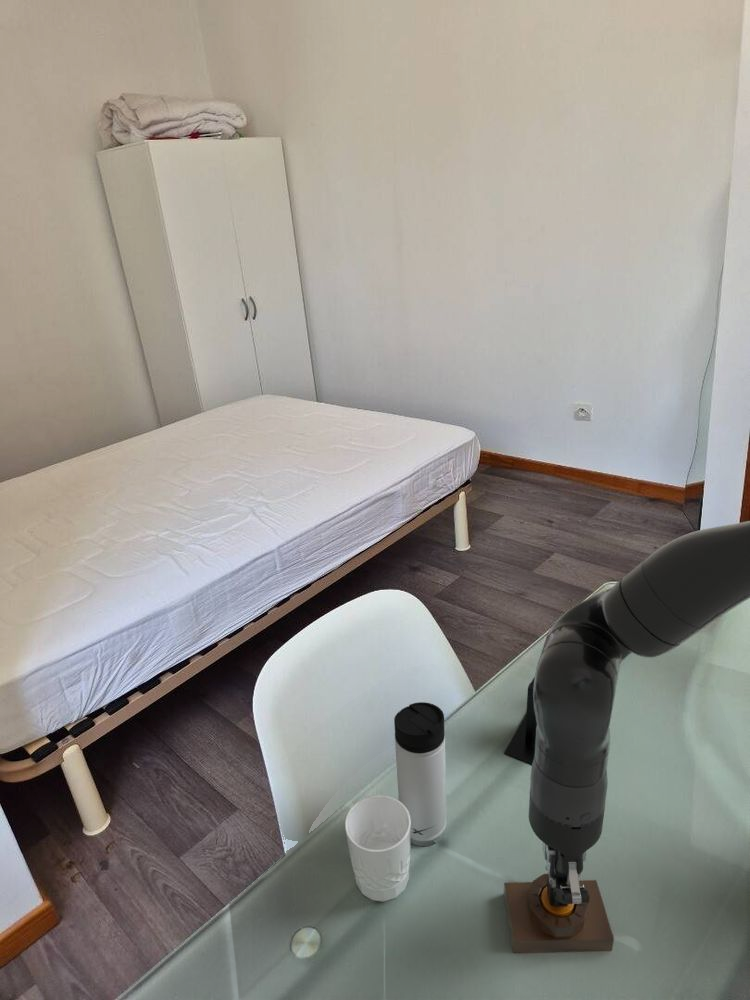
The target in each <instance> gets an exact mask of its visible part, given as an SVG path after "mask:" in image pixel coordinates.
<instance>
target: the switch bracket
mask: <svg viewBox="0 0 750 1000" xmlns="http://www.w3.org/2000/svg"><path fill="white" fill-rule="evenodd" d="M534 679H535V676H533V678H532V680H531V681H530V682H529V684H528V685H527V694H526V695H527V696H526V713H525V715H524V717H523V718H522V719H521V722H520V724H519V725H518V727H517V729H516V731H515V732H514V734H513V736H512V738H511V739H510V742H509V743H508V745H507V747H506V748H505V750H504V752H503V754H504V755H505V756H507V757H510V758H513V759H515V760H518V761H521V762H523V763H526V764H528V765H531V766H532V763H533V760H534V755H535V740H536V728H537V722H536V716H535V709H534V699H533V691H534Z"/></svg>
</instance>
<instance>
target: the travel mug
mask: <svg viewBox="0 0 750 1000" xmlns="http://www.w3.org/2000/svg"><path fill="white" fill-rule="evenodd" d="M393 721H394V722H393V723H394V746H395V747H394V748H395V762H396V764H395V765H396V778H397V780H396V781H397V794H398V796H397V797H398V801H400V802H401V803H402V804H403V805H404V806H405V807H406V809H407V810H408V812H409V815H410V819H411V838H410V844H412V845H415V846H419V847H430V846H433V845H436V842H435V841H437V840H438V839H440V838H441V837H442V836H443V835H444V833H445V831H446V829H447V824H448V818H447V817H448V816H447V815H448V813H447V769H446V768H447V767H446V766H447V765H446V764H447V763H446V762H447V761H446V732H445V714H444V712H443V710H442V709H441V708H440V707H439V706H438V705H436V704H434V703H431V702H425V701H424V702H422V701H421V702H413V703H410V704H409V705H408V706H405V707H404V708H401V709H400V710H399V711H398V712H397V713H396V714H395V715H394V719H393Z"/></svg>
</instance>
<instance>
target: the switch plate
mask: <svg viewBox="0 0 750 1000" xmlns="http://www.w3.org/2000/svg"><path fill="white" fill-rule="evenodd" d="M547 883H548V873H543V874H541V875H539V876H538V877H537V878H535V879H534V880H533V881H521V882H518V881H517V882H504V883H503V885H504V886H503V897H504V903H505V909H506V916H507V921H508V928H509V935H510V940H511V946H512V951H513V954H539V953H542V954H544V953H545V954H546V953H578V952H579V953H580V952H612V951H613V947H614V940H615V938H614V934H613V931H612V928H611V924H610V921H609V918H608V915H607V911H606V907H605V904H604V901H603V898H602V894H601V891H600V887H599V884H598V881H597V879H587V880H579V884H584V887H585V889H586V890H587V891H588V894H589V897H590V899H589V903H587V904H574V909H573V914H571V915H570V916H568V917H564V918H557V917H554V916H552V915H550V914H548V913H547V912H546V911H545V910H544V909H543V908H542V906H541V897H542V892H543V890H544V888H545V887H546V886H547Z"/></svg>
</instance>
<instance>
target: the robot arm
mask: <svg viewBox="0 0 750 1000" xmlns="http://www.w3.org/2000/svg"><path fill="white" fill-rule="evenodd" d="M748 600H750V520H748V521H741V522H738V523H731V524H725V525H721V526H720V525H718V526H714V527H709V528H703V529H699V530H696V531H692V532H690V533H686V534H683V535H681V536H679V537H676V538H674V539H672V540H670V541H669V542H667V543H665V544H664V545H662V546H660V547H659V548H658V549H656V550H655V551H653V552H652V553H651V554H650V555H648V557H646V558H645V559H644V560H643V561H641V562H640V563H639V564H638V565H636V566H635V567H634V568H633V569H632V570H630V571H629V572H628V573H627V574H625V575H624V576H623V577H622V578H621V579H619V580H618V581H617V582H616V583H615V584H614V585H613V586H612V587H611V588H609V589H606V590H604V591H601V592H599V593H597V594H594V595H592V596H591V597H589V598H587V599H585V600H583V601H581V602H579V603H577V604H575V605H574V606H572V607H571V608H569V609H567V611H564V613H563V614H562V615H561V616H560V617H559V618H558V619H557V620H556V621H555V622H554V623H553V624H552V626H551V627H550V629H549V630H548V632H547V634H546V638H545V640H544V643H543V648H542V650H541V653H540V656H539V659H538V662H537V665H536V668H535V673H534V677H535V679H534V691H533V699H534V709H535V716H536V722H537V728H536V740H535V755H534V760H533V763H532V765H531V770H530V783H529V800H528V822H529V825H530V827H531V830H532V832H533V833H534V835H535V836H536V837H537V838H538V839H539V840H540V842H542V853H543V857H544V860H545V861H546V862H545V863H546V864H545V871H546V874H548V883H547V895H548V899H549V903H550V905H551V906H554V907H567V905H568V904H587V903H589V899H590V897H589V894H588V891H587V890H586V889H585V887H584V884H579V881H580V880H579V877H581V875H582V873H583V871H584V862H585V861H586V857H587V851H588V850H590V849H591V848H592V847H594V846H595V845H596V844H597V843H598V841H599V840H600V838H601V835H602V832H603V826H604V818H605V811H606V801H607V794H608V785H609V783H608V782H609V781H608V764H609V755H610V746H611V729H610V725H611V720H612V714H613V709H614V703H615V698H616V693H617V687H618V679H619V673H620V669H621V665H622V663H623V662H624V661H625V660H626V659H627V658H628V657H629V656H630V655H631V654H634V655H636V656H639V657H642V658H646V659H653V658H658V657H661V656H664V655H666V654H668V653H669V652H671V651H673V650H675V649H676V648H678V647H679V646H680V645H682V644H684V643H685V642H687V641H688V640H689V639H691V638H692V637H694V636H695V635H697V634H698V633H700V632H702V630H703V629H705V628H707V627H708V626H710V625H711V624H712V623H714V622H715V621H717V620H718V619H719V618H721V617H722V616H724V615H725V614H727V613H728V612H730V611H731V610H733V609H735V608H736V607H738V606H739V605H741V604H742V603H745V602H746V601H748Z"/></svg>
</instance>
